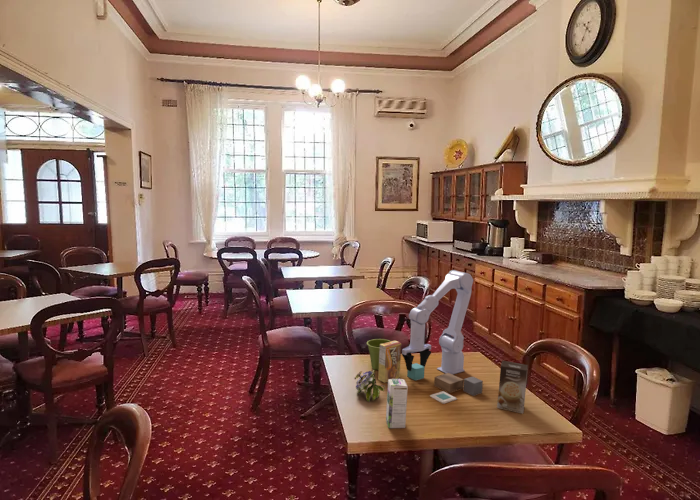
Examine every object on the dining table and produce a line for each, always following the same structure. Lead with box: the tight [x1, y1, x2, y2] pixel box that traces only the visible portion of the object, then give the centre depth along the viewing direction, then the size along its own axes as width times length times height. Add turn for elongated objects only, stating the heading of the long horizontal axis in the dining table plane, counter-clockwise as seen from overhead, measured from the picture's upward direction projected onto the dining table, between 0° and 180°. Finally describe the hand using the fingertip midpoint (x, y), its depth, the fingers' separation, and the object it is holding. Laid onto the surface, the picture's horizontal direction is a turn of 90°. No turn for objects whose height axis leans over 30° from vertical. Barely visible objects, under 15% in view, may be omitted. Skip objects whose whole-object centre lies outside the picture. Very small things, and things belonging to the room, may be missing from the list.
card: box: [429, 390, 458, 405], centre depth 165 cm, size 7×7×1 cm
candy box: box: [377, 340, 402, 383], centre depth 180 cm, size 9×4×15 cm, turn 129°
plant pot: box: [366, 338, 392, 371], centre depth 192 cm, size 12×12×11 cm
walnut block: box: [433, 373, 464, 394], centre depth 175 cm, size 8×8×4 cm
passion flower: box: [354, 369, 386, 403], centre depth 165 cm, size 11×11×12 cm
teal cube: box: [406, 362, 426, 381], centre depth 183 cm, size 5×5×5 cm
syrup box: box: [385, 378, 409, 429], centre depth 144 cm, size 6×6×14 cm
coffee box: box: [496, 359, 529, 414], centre depth 158 cm, size 9×6×16 cm
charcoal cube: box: [462, 376, 484, 397], centre depth 171 cm, size 5×5×5 cm
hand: (415, 368), depth 183 cm, fingers open, 7 cm apart
